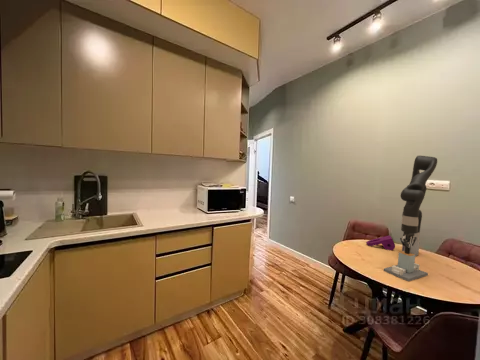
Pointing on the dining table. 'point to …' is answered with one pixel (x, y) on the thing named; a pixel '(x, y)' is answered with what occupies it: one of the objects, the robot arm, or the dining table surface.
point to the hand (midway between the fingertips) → (407, 253)
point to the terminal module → (406, 261)
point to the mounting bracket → (383, 242)
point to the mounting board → (403, 272)
